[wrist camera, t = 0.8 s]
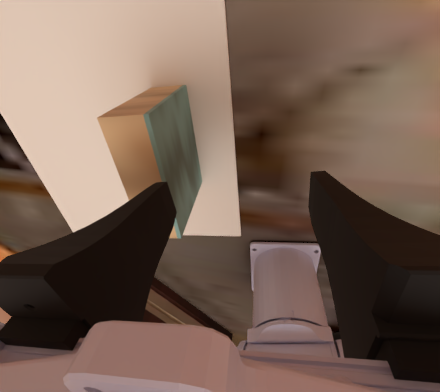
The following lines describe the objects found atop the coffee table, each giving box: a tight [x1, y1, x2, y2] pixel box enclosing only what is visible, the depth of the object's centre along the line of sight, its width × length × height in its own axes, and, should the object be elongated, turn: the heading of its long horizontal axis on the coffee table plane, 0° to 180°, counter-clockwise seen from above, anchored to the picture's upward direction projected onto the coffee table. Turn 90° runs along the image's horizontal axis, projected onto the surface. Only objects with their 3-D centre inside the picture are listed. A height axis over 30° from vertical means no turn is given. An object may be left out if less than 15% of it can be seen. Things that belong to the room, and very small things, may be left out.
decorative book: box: [142, 278, 232, 341], centre depth 39 cm, size 19×8×30 cm
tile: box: [97, 85, 202, 238], centre depth 18 cm, size 9×3×8 cm, turn 6°
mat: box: [0, 0, 241, 236], centre depth 23 cm, size 24×22×1 cm
